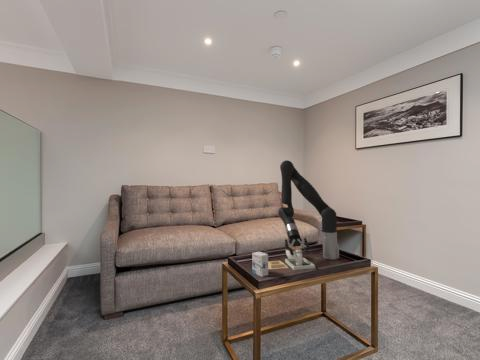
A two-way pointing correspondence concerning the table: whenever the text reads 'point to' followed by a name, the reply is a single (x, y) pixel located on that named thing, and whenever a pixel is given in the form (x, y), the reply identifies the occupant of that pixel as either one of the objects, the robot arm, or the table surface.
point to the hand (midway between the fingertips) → (299, 254)
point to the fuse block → (276, 265)
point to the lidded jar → (293, 252)
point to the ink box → (260, 263)
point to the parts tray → (309, 266)
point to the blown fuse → (298, 257)
